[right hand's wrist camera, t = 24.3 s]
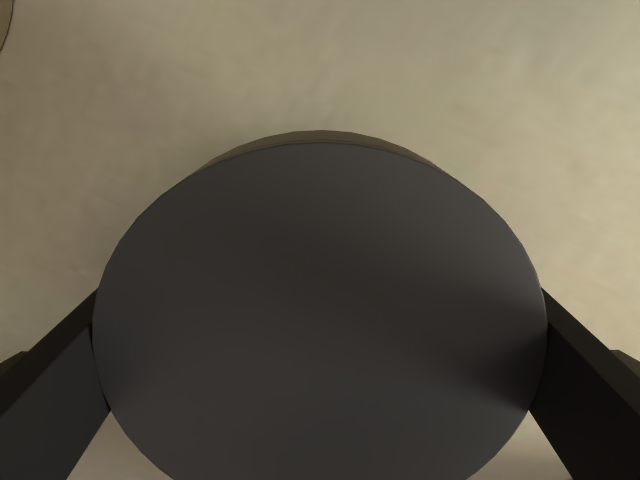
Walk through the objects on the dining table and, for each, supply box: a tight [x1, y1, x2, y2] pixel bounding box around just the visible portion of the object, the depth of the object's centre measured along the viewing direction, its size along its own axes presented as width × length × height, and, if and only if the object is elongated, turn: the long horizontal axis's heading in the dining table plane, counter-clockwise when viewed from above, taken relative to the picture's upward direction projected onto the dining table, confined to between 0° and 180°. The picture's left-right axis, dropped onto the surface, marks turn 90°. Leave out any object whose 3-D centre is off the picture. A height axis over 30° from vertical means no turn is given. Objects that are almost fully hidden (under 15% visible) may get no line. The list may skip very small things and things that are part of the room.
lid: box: [92, 130, 548, 480], centre depth 11 cm, size 11×11×2 cm
